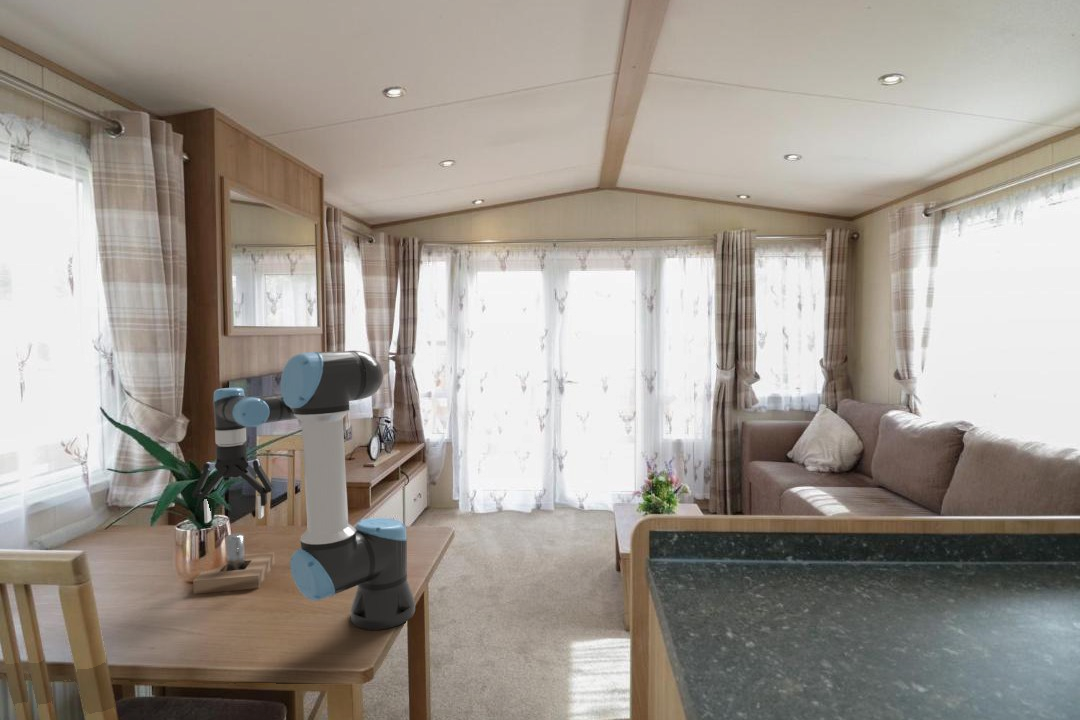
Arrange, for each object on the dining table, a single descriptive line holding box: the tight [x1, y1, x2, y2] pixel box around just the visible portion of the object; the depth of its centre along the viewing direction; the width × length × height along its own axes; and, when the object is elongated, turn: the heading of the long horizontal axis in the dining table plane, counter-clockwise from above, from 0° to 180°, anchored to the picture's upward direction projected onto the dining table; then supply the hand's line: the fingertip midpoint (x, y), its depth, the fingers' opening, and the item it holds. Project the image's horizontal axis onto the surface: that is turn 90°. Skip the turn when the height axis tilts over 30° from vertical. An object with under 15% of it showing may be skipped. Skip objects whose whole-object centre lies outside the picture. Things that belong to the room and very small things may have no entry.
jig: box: [192, 551, 276, 595], centre depth 158 cm, size 16×16×4 cm
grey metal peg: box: [225, 532, 245, 571], centre depth 158 cm, size 4×4×12 cm
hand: (234, 519), depth 157 cm, fingers open, 13 cm apart
